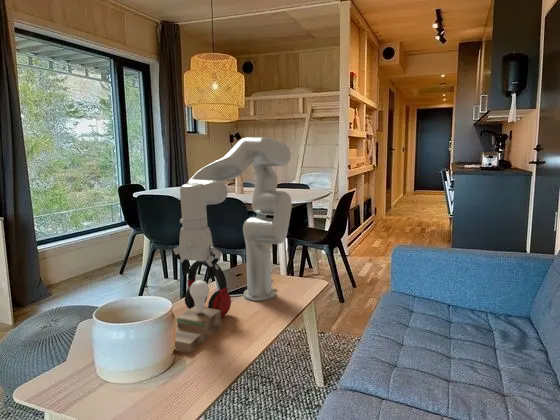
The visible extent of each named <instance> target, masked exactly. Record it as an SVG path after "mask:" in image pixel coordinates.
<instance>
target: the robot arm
mask: <svg viewBox="0 0 560 420" xmlns="http://www.w3.org/2000/svg"><path fill="white" fill-rule="evenodd" d="M291 155H292V154H291V149H290V148H289V146H288V145H287V144H285V143H283V142H281V141H279V140H275V139H273V138H270V137H267V136H250V137H249V136H247V137H243V138H241V139H239V140H238V141H237V143H236V144H235V145H234V146H233V147H232V148H231V149H230V150H229V151H228V152H227V153H225V155H224V156H223V157H222V158H220V159H218V160H215V161H214V162H212V163H209V164H208V165H206V166H203V167H202V168H200V169H199V170H197V172H195V174H193V176H192V177H191V178H189V180H188V181H187V183H185V184H182V185H181V186H180V188H179V196H180V205H181V206H180V207H181V209H180V210H181V218H180V219H179V223H180V224H182V227H181V228H180V229H179V230H180V232H179V241H178V242H179V245H178V246H176V247H174V248H173V250H172V251H173V253H174V255H175V257H176V258H177V260H178V261H179V264H181V273H182V274H181V275H182V276H186V275H188V273H189V272H190V262H189V261H194V262H196V261H206V262H207V263H208V265H209V266H208V267H207V276H208V277H207V278H208V280H209V279H210V280H212V279H214V278H215V274H216V267H215V264H218V262H220V259H221V257H222V255H223V252H222V251H220V250H219V249H217V248H216V247H214V244H213V237H212V232H211V228H210V227H209V226H208V216H207V215H208V214H207V213H208V212H207V206H208V205H217V204H220V203H222V202H224V201H225V200H226V198H227V197H228V190H229V189H228V186H227V185H226V184H225V183H223V182H225V181H230V180H233V179H236V178H239V177H241V176H242V175H243V174H244V173H245V171H246V170H247V168H248V167H249V166H250V165H252V166H253V169H254V172H255V178H256V179H255V185H254V189H253V196H252V200H251V209H252V210H253V212H254V213H256V214H259V215H266V216H267V215H268V216H273V218H271V217H270V218H269V217H262V216H253V217H252V216H251V217H248V218H247V219H245V220H244V223H243V225H242V234H243V239H244V242H245V251H246V252H245V254H246V255H245V256H246V287H247V289H245V290H244V291H243V297H244V298H245V299H246V300H249V301H257V302H259V301H266V300H271V299H273V298H274V297H275V296H276V290H274V289H273V288H272V284H273V283H274V279H272V261H271V259H272V256H271V255H272V254H271V249H270V246H269V244H271V245H281V244H282V243H284V242H285V240H286V238H287V235H288V231H289V227H290V220H291V213H292V208H293V204H292V203H293V202H292V198H291V196H290V194H289V193H288V192H286V191H283V190H277V187H278V175H277V174H276V171H275V170H274V169H273V167H284V166H286V165H287V164H288V163H289V162H290V160H291V158H292V157H291ZM214 256H215V257H214ZM211 261H212V262H211Z"/></svg>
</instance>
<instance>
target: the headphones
mask: <svg viewBox="0 0 560 420" xmlns="http://www.w3.org/2000/svg"><path fill="white" fill-rule="evenodd" d="M211 262H212V261H211ZM200 266H205V267H207V268H208V266H209V265H208V263H207V262H206V261H194V262H193V263H192V264H191V266H189V268H190V272H189V273H188V274H187V279H188V280H187V289H186V292H185V294H184V304H185V306H186V308H187V309H188V310H190V309H191V308H193V307H194V306H195V303H194V300H193V298H192V296H191V294H190V286H191V285H192V283H194V282H195V281H196V277H197V272H198V269H199V268H200ZM215 267H216V274H215V276H214V278H215V279H216V281H217V286H218V288H219V289H218V290H216V291H215V292H214V293H213V294H211V296H210V298H209V301H208V302H207V299H208V296H207V297H206V299H205V303H206V302H207V303H208V304H207V305H208V306H207V308H211V309H217V310H221V319H222V318H224V317H225V316H226V315H227V314H228V312H229V311H230V309H231V306H232V298H231V294H230V293H229V292H228V286H227V285H228V284H227V279H226V275H225V273H224V271H223V269H222V268H221V266H220V265H219V264H218V263H217V264H215Z"/></svg>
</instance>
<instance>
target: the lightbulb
mask: <svg viewBox="0 0 560 420" xmlns="http://www.w3.org/2000/svg"><path fill="white" fill-rule="evenodd" d="M209 286H210V285H209V284H208V283H207V282H206V281H205V280H201V279H199V280H195V282H194V283H192V285H191V286H190V294H191V296H192V298H193V300H194V303H195V308H196V312H197V313H199V314H200V313H202V312H203V311H204V306H205V305H206V302H205V299H206V297H207V298H208V296H209V293H210V287H209Z"/></svg>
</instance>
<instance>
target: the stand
mask: <svg viewBox="0 0 560 420" xmlns="http://www.w3.org/2000/svg"><path fill="white" fill-rule="evenodd" d="M176 323H177V324H176V325H177V326H176V327H175V328H176V342H175V347H176V349H178V350H180V351H179V352H182V351H183V353H187V354H191V353H193V352H194V351H195V350H196V349H197V348H198V347H200V346H201V345H202V344H203V343H205V341H207V340H208V339H210V337H212V336H213V335H214V334H216V332H218V331H219V330H220V329H221V328H222V318H221V310H217V309H211V308H208V307H204V311H203V312H202V313H200V314H199V313H197V312H196V308H195V306H194V307H193V308H191V309H188V310H186V311H185V312H183V313H182V314H181V315H179V316H178V317H177V318H176Z"/></svg>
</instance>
